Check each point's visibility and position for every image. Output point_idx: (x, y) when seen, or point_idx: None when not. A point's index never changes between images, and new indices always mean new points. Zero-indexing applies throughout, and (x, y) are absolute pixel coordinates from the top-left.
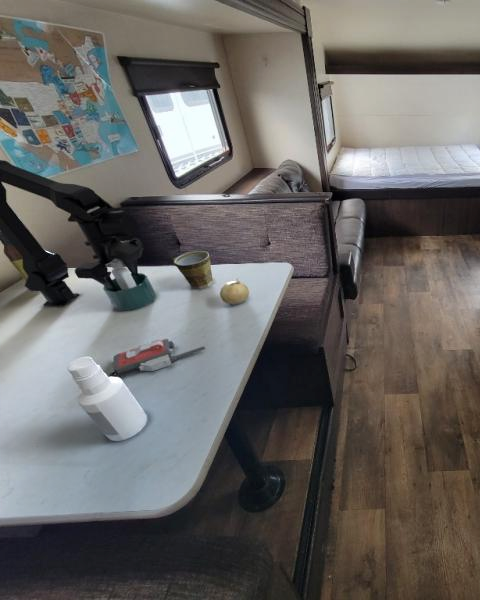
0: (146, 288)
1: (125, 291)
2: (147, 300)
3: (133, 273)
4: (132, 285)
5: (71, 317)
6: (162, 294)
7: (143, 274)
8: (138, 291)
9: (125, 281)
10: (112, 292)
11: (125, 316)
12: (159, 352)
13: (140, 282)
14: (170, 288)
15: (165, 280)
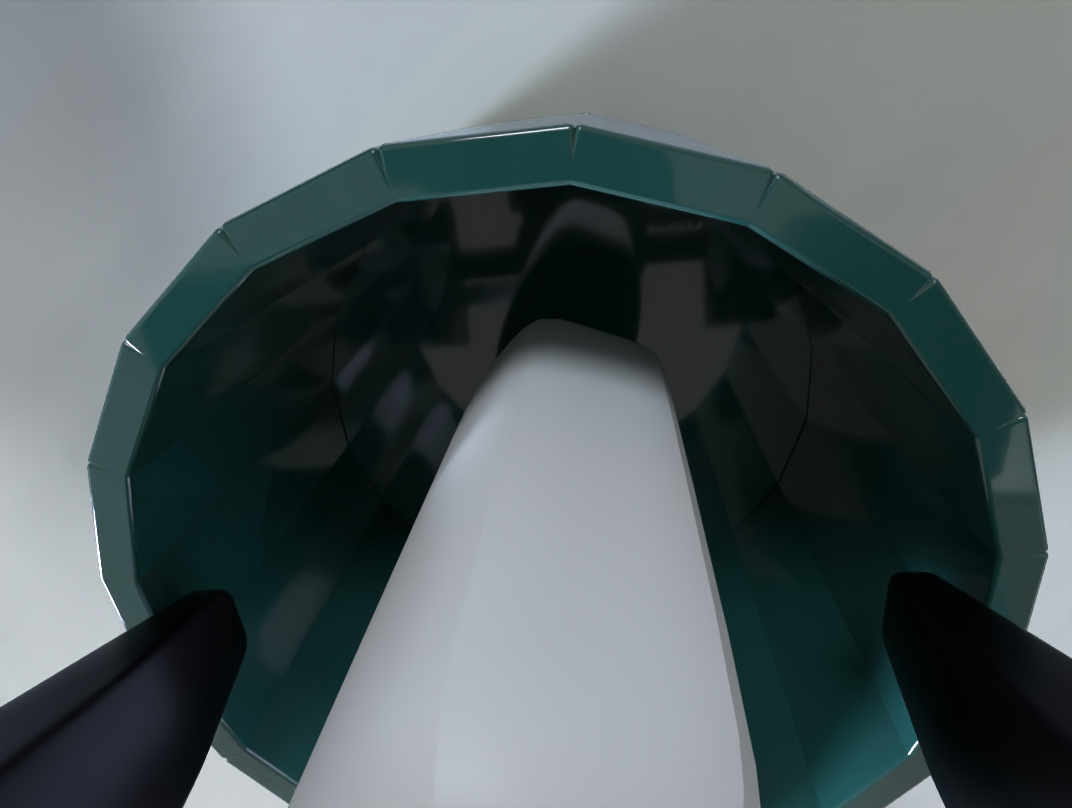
0: (489, 127)
1: (965, 331)
2: (614, 120)
3: (203, 688)
4: (596, 408)
5: (917, 789)
6: (322, 124)
7: (114, 486)
8: (715, 150)
9: (705, 559)
10: (1031, 593)
11: (960, 244)
12: None
13: (281, 518)
14: (142, 127)
15: (33, 379)
